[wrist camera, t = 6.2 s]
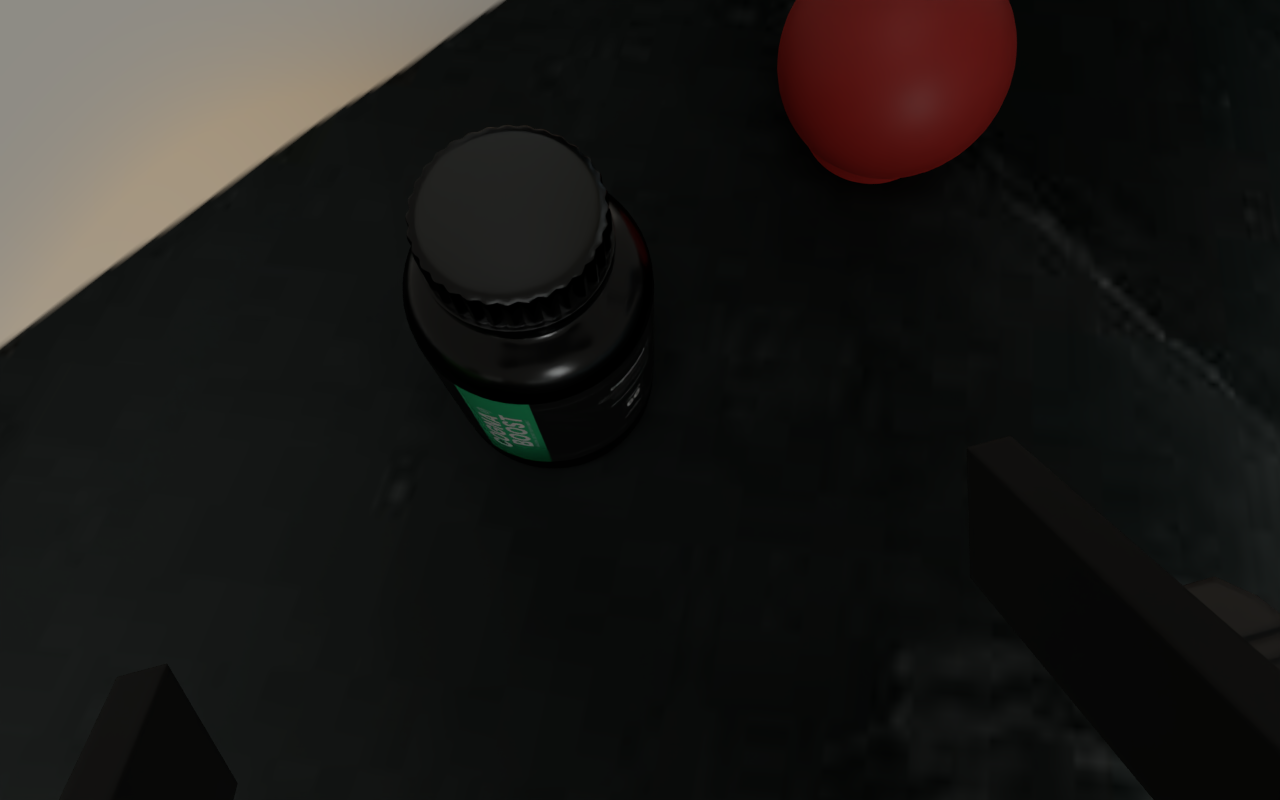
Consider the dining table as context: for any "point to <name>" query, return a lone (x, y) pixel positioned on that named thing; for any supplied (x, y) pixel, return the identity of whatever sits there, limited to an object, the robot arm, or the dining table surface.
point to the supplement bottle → (531, 295)
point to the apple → (894, 80)
